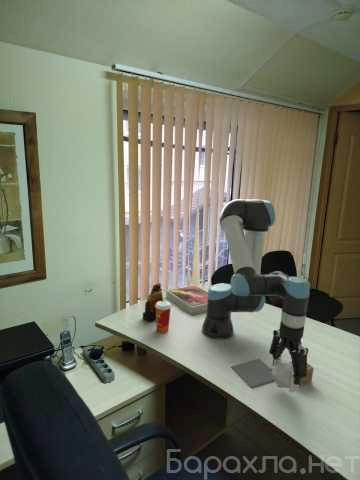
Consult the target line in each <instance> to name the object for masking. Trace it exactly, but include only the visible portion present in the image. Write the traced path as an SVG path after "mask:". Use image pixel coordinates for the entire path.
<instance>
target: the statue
mask: <svg viewBox="0 0 360 480" xmlns="http://www.w3.org/2000/svg"><path fill="white" fill-rule="evenodd" d="M146 299H147V300H146V301H145V304H144V306H145V307H144V312H142V319H143V320H144V321H146V322H147V323H152V322H156V307H155V305H156V303H157V302H159V301H164V297H163V292H162V284H161V283H160V282H159V283H154V284H152V289H151V291H150V294H149V296H148V297H147V298H146Z"/></svg>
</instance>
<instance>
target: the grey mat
mask: <svg viewBox="0 0 360 480" xmlns="http://www.w3.org/2000/svg"><path fill="white" fill-rule="evenodd" d="M230 368H231V369H232V370H233V371H234V372H235V373H236V374H237V375H238V376H239V377H240V379H242V380H243V381H244V382H245V383H246V384H247V386H249V388H251V389H253V388H257V387H259V386H262V385H265V384H269V383H272V382H275V379H274V377H273V376H272V371H273V368H271V367H270V366H268V365H267V363H265V362H264V361H263V360H261V358H256V359H253V360H249V361H245V362H241V363H238V364H237V363H236V364H234V365H231V366H230Z"/></svg>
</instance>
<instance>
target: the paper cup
mask: <svg viewBox="0 0 360 480" xmlns="http://www.w3.org/2000/svg"><path fill="white" fill-rule="evenodd" d="M155 307H156V321H155V322H156V323H155V324H156V332H157V333H159V334H167V333H168V332H169V329H170V328H169V327H170V320H171V319H170V317H171V308H172V305H171V302H170V301H167V300H163V301H159V302H157V303H156V305H155Z"/></svg>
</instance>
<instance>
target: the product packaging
mask: <svg viewBox="0 0 360 480" xmlns="http://www.w3.org/2000/svg"><path fill="white" fill-rule="evenodd" d="M207 295H208V291H207V290H206V289H205V290H204V289H203V288H201V287H200V286H198V285H195V284H191V285H187V286H186V285H185V286H183V287H182V286H181V287H178V288H177V287H176V288H171V289H167V290H166V296H165V297H166V298H167V299H168V300H170V301H171V302H172V303H173V304H175V305H177V306H179V307H180V308H181V309H183V310H184V311H185V312H187V313H189V314H190V315H192V316H193V315H198V314H201V313H204V312H205V313H207V300H208V298H207Z"/></svg>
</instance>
